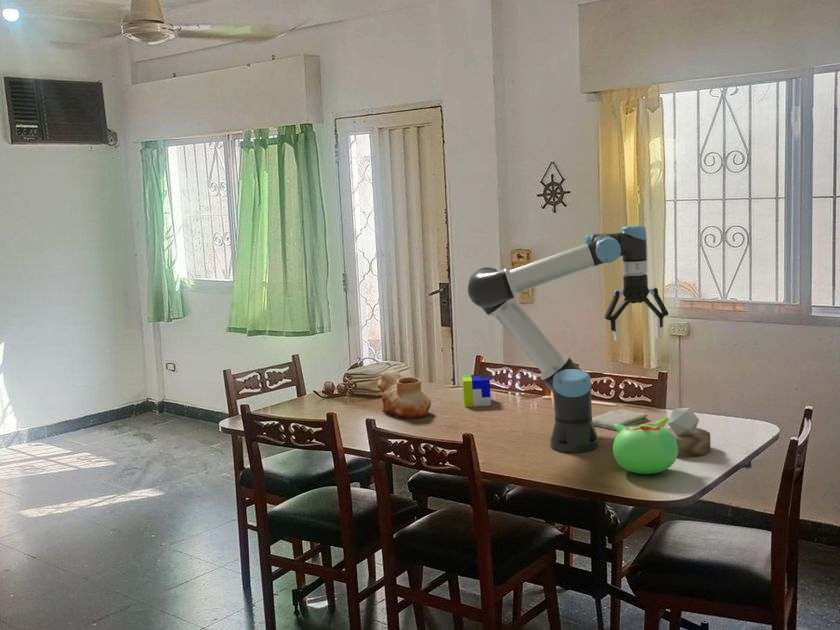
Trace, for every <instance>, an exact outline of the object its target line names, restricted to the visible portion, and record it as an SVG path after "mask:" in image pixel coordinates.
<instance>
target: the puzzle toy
mask: <svg viewBox="0 0 840 630" xmlns="http://www.w3.org/2000/svg"><path fill="white" fill-rule="evenodd" d="M461 378H462V379H461V380H462V391H463V392H462V393H463V394H462V395H463V396H462V397H463V405H464V408H468V407H472V406H473V407H485V406H488V407H489V406H492V398H491V397H492V396H491V381H490V380H491V379H490V377H489V373H484V374H465V375H461Z"/></svg>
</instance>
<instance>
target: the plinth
mask: <svg viewBox="0 0 840 630" xmlns="http://www.w3.org/2000/svg"><path fill="white" fill-rule="evenodd" d="M665 429H666V430H668V431H669V432H670V433H671V434H672V435H673V436H674V437H675V439H676V441H677V445H678V455H677V458H687V459H688V458H698V457H699V458H700V457H703V456H706V455H708V454H710V452H711V451H712V450H711V448H712V447H711V433H710V432H709V431H708V430H706V429H703V428H697V427H696V430H695V432H694V435H682V436H677V435H676V434H675V433H674V431H673V430H672V429H671V427H669V428H665Z"/></svg>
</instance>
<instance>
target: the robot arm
mask: <svg viewBox="0 0 840 630" xmlns="http://www.w3.org/2000/svg"><path fill="white" fill-rule="evenodd" d="M647 241H648V239H647V232H646V227H645V226H644V225H634V224H633V225H624V226H623V227H622V228H621V232H617V233H615V232H614V233H600V234H598V233H593V234H586V235H585V236H584V238H583V244H581V245H578V246H576V247H573V248H570V249H566V250H564V251H562V252H558V253H555V254H553V255H550V256H546V257H544V258H541V259H538V260H535V261H532V262H530V263H527V264H524V265H521V266H518V267H515V268H513V269H510V270H509V269H507V268H503V269H500V270H498V269H496V268H493V267H489V266H488V267H487V266H486V267H481V268H479V269H477V270H476V271H474V272H473V273H472V274H471V276H470V277H469V281H468V285H467V293H468V297H469V300H470V301H471V302H472V303H473V304H474V305H476V306H477V307H480V308H481V309H482V310H483V312H484V313H485V314H486V315H487V316H490V317H495V318H496V320H497V321H498V322H499V323H500V325H501V326H503V328H504V329H505V331H506V332H507V333H508V334H509V335H510V336H511V337H512V339H513V340H514V341H515V342H516V343H517V345H518V347H520V348H521V350H523V352H524V353H525V354H526V356H527V357H528V358H529V359H530V361H531V362H532V363H533V364H534V365H535V366H536V367H537V368H538V370H539V371H540V379H541V380H542V382H543V383H544V384H545V386H546V387H547V388H548V389H549V391H550V392H552V395H553V409H554V410H553V411H554V412H553V413H554V425H553V427H552V432H551V435H550V438H549V445H550V446H549V447H550V448H551V449H552V450H555V451H557V452H564V453H584V452H590V451H594V450H595V449H597V448H598V447H599V446H600V445H599V442H600V441H599V436H598V434H597V431H596V428H595V426H594V425H593V422H592V418H593V412H592V410H593V408H592V380H591V376H590V374H589V373H588V372H587V371H584V370H582V369H581V368H580V367H578V366H577V364H575V362H574V361H573V360H572V359H571V357H570V356H569V355H565V354H564V355H563V354H561V353H560V352H559V350H558V349H557V348H556V347H555V346H554V344H553V343H552V342H551V341H550V339H549V338H548V337H547V336H546V335H545V334H544V333H543V331H542V330H541V329H540V328H539V326H537V324H536V323H535V322H534V321H533V319H532V318H531V317H530V316H529V315H528V314H527V312H526V311H525V309H523V307H522V306H521V305H520V304H519V302H518V301H517V300H516V297H517V295H518V294H519V293H523V292H525V291H527V290H530V289H534V288H536V287H540V286H542V285H545V284H548V283H550V282H551V283H552V282H554V281H556V280H559V279H562V278H565V277H568V276H572V275H573V274H576V273H579V272H582V271H585V270H588V269H591V268H594V267H598V266H600V265H603V264H610V263H613V262H615V261H617V260H618V259H619V258H620V257H622V273H623V279H622V280H623V289H622V290H617V289H614V290H613V297H612V299H611V300H610V303H609V306H608V308H607V310H606V311H605V312H606V313H605V315H604V319H605V320H607V321H609V322H610V330H611V331H612V332H613V340H614V341H615V342H619V340H620V339H619V321H618V320H617V319H618V318H619V316H620V315H621V314H622V313H623V311H624V310H625V309H626V307H627V306H629V304H641V303H643V302H644V303H645V304H646V306H647V307H648V308H649V309H650V310H651V311H652V312H653V313H654V314H655V315H656V317H654V335H655V338H657V339H661V328H663V326H664V324H663V323H664V321H663V320H664V319H663V318H665V317H666V316H669V312H668V309H667V308H666V305H664V304H665V303H664V302H663V300H662V298H661V297H660V295H659V290H658V287H654V286H652V287H651V288H649V287H648V275H647V273H648V262H647V261H648V258H647V257H648V255H647V252H648V251H647V250H648V249H647ZM649 294H650V295H652V297H653V298H654V300H655V302H656V303H657V306H658V308H659V309H660V310H659V309H658V308H657V307H656V306H655V305H654V304H653V303H652V302H651V300H650V299H649V298H648V295H649ZM622 296H623V297H624V298H623V299H622V301H621V303H619V304H620V305H619V306H617V304H618V302H619V300H620V298H621V297H622ZM616 306H617V308H616ZM615 308H616V310H615ZM614 310H615V311H614ZM660 311H661V312H660Z"/></svg>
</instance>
